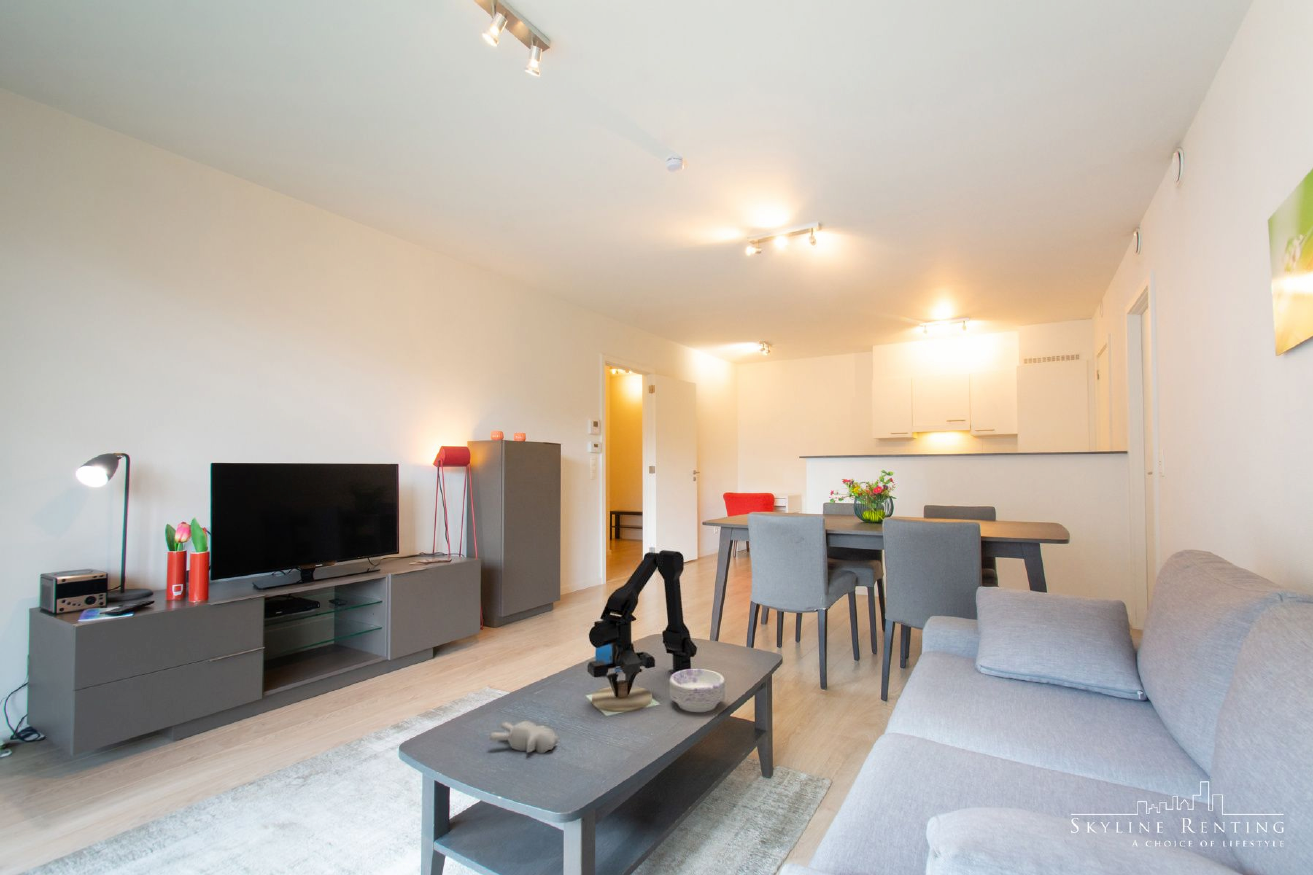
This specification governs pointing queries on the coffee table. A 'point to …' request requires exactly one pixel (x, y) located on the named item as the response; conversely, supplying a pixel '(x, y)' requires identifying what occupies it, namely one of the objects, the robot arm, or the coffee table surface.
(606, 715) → the mat
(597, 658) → the alarm clock
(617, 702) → the lid
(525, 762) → the coffee table surface
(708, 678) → the white and purple bowl
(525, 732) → the bunny figurine
